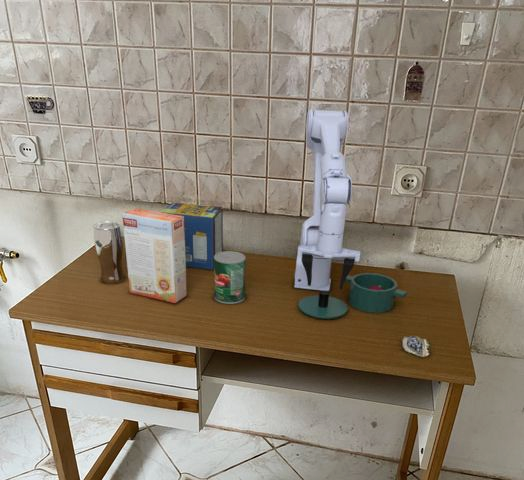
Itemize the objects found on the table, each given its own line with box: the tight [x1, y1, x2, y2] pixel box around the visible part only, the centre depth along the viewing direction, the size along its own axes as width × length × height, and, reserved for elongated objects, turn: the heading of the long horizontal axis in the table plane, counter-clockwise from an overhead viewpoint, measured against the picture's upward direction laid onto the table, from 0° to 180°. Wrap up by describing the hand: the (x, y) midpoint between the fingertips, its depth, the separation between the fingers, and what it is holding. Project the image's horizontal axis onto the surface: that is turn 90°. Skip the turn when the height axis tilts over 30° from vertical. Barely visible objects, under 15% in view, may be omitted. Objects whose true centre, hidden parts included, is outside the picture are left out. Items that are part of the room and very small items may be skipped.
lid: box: [297, 290, 348, 320], centre depth 128 cm, size 12×12×5 cm
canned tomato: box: [213, 250, 247, 305], centre depth 131 cm, size 8×8×11 cm
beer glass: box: [93, 220, 125, 285], centre depth 136 cm, size 7×7×15 cm
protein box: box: [160, 202, 224, 271], centre depth 150 cm, size 10×15×16 cm
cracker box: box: [121, 207, 188, 304], centre depth 128 cm, size 14×6×21 cm, turn 65°
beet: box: [369, 285, 383, 290], centre depth 132 cm, size 4×4×5 cm
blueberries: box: [401, 335, 430, 358], centre depth 114 cm, size 7×8×2 cm
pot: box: [344, 272, 408, 314], centre depth 132 cm, size 11×17×6 cm
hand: (325, 285), depth 126 cm, fingers open, 7 cm apart
